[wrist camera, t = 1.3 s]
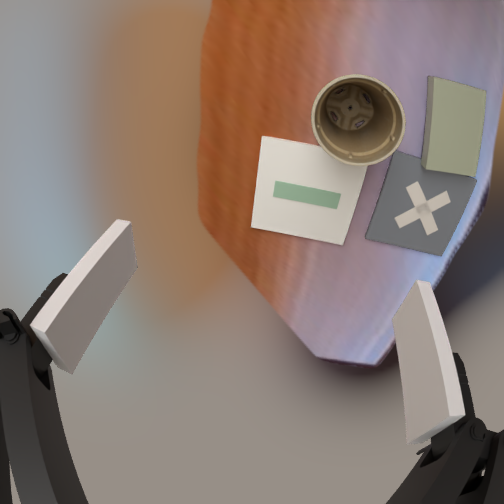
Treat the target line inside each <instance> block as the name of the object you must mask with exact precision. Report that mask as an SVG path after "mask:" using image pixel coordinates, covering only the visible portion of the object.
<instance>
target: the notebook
mask: <svg viewBox="0 0 504 504" xmlns="http://www.w3.org/2000/svg"><path fill="white" fill-rule="evenodd" d="M485 103H486V91H484V90H481V89H478V88H475V87H472V86H468V85H465V84H461V83H457V82H454V81H450V80H446V79H442V78H437V77H432V76H428V90H427V110H426V123H425V134H424V143H423V152H422V160H421V165H422V166H423V167H424V168H425V169H427V170H435V171H442V172H448V173H455V174H461V175H467V176H472V177H475V175H476V170H477V165H478V159H479V153H480V147H481V140H482V133H483V124H484V115H485Z"/></svg>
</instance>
